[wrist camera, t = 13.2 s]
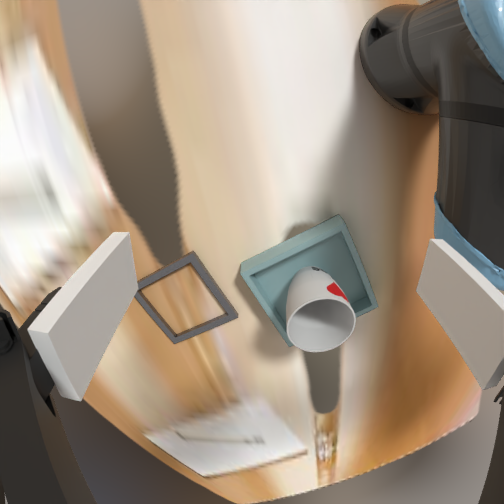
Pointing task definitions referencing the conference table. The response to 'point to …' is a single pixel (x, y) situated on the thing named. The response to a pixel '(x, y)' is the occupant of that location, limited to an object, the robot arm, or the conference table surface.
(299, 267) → the bin
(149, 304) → the grey flat square frame
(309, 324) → the cup
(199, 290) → the conference table surface
